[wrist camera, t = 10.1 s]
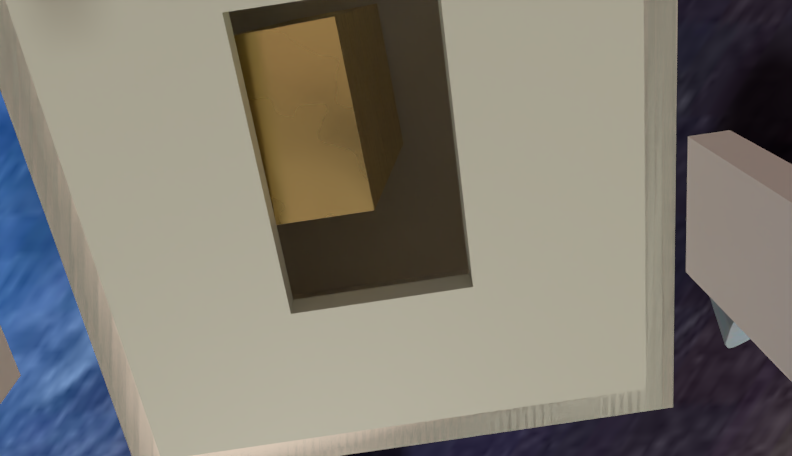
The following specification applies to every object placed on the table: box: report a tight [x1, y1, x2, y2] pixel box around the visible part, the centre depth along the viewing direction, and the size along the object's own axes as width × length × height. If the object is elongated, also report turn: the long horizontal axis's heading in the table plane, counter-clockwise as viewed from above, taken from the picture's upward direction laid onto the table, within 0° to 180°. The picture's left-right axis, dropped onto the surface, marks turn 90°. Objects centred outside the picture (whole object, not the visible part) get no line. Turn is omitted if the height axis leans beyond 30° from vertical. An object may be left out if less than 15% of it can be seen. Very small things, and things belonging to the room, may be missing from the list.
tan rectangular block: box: [234, 3, 403, 225], centre depth 23 cm, size 3×5×8 cm, turn 11°
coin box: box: [0, 0, 678, 456], centre depth 23 cm, size 16×18×10 cm
